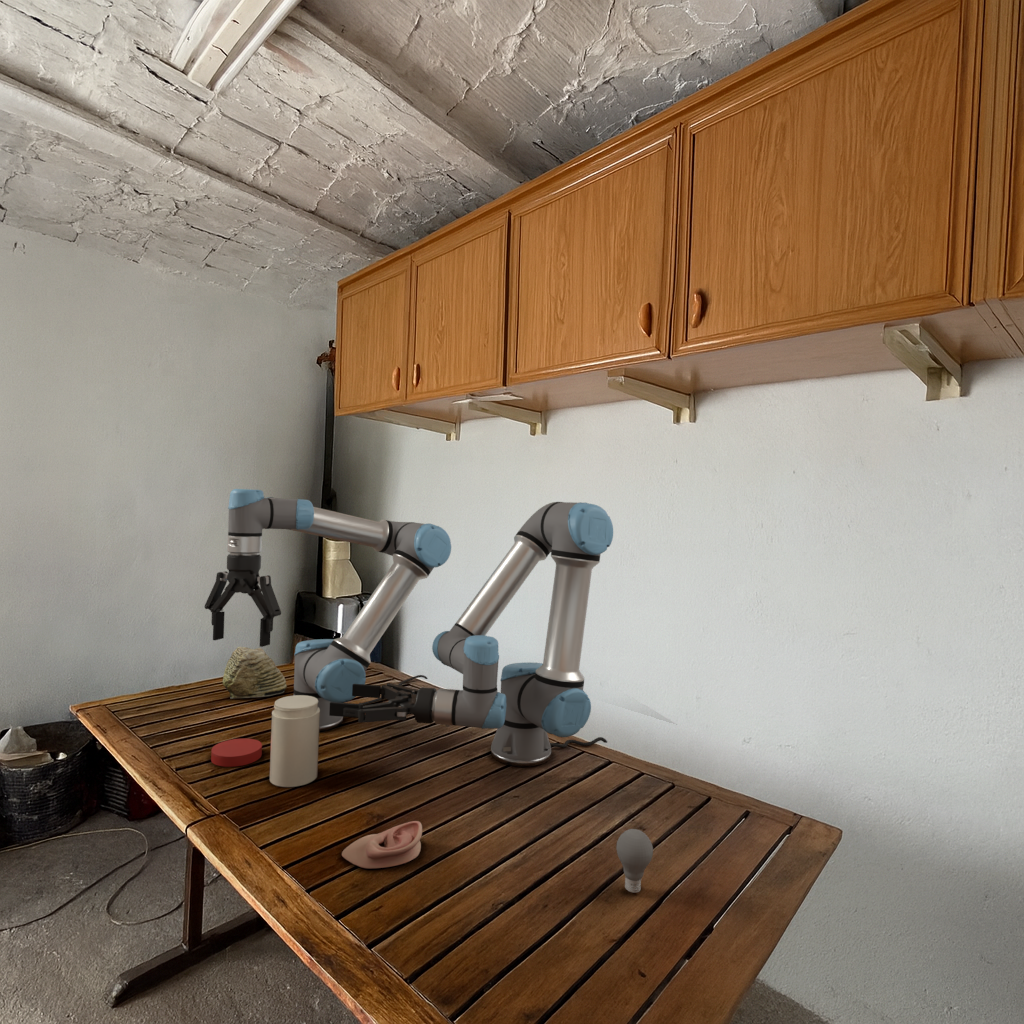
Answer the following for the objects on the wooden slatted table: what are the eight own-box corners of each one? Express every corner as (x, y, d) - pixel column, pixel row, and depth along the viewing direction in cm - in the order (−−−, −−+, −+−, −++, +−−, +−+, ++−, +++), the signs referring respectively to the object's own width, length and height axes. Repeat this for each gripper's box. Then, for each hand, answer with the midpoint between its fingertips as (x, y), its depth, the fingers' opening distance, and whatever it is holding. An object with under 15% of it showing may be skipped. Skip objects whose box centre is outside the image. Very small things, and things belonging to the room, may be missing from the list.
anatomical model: (334, 840, 110) (362, 809, 121) (333, 863, 110) (362, 830, 121) (406, 852, 107) (429, 819, 118) (405, 875, 107) (428, 840, 118)
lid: (271, 751, 156) (271, 741, 156) (242, 769, 145) (243, 759, 145) (231, 745, 158) (231, 736, 158) (200, 763, 147) (200, 753, 147)
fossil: (218, 695, 195) (220, 647, 195) (278, 685, 208) (279, 640, 207) (228, 703, 189) (230, 653, 188) (289, 692, 201) (290, 645, 201)
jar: (264, 787, 137) (267, 709, 136) (274, 767, 147) (277, 694, 146) (314, 786, 138) (317, 708, 138) (320, 766, 149) (322, 694, 148)
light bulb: (610, 879, 108) (613, 822, 108) (644, 879, 109) (647, 822, 109) (619, 902, 102) (622, 840, 102) (655, 901, 103) (658, 840, 103)
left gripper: (190, 551, 151) (187, 639, 152) (277, 558, 143) (274, 651, 144) (214, 549, 158) (211, 633, 159) (298, 556, 151) (295, 644, 151)
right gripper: (420, 744, 127) (318, 735, 129) (446, 705, 152) (360, 698, 154) (422, 707, 127) (320, 699, 129) (447, 673, 151) (361, 667, 154)
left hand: (241, 642), depth 151 cm, fingers open, 13 cm apart
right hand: (341, 698), depth 141 cm, fingers open, 13 cm apart
